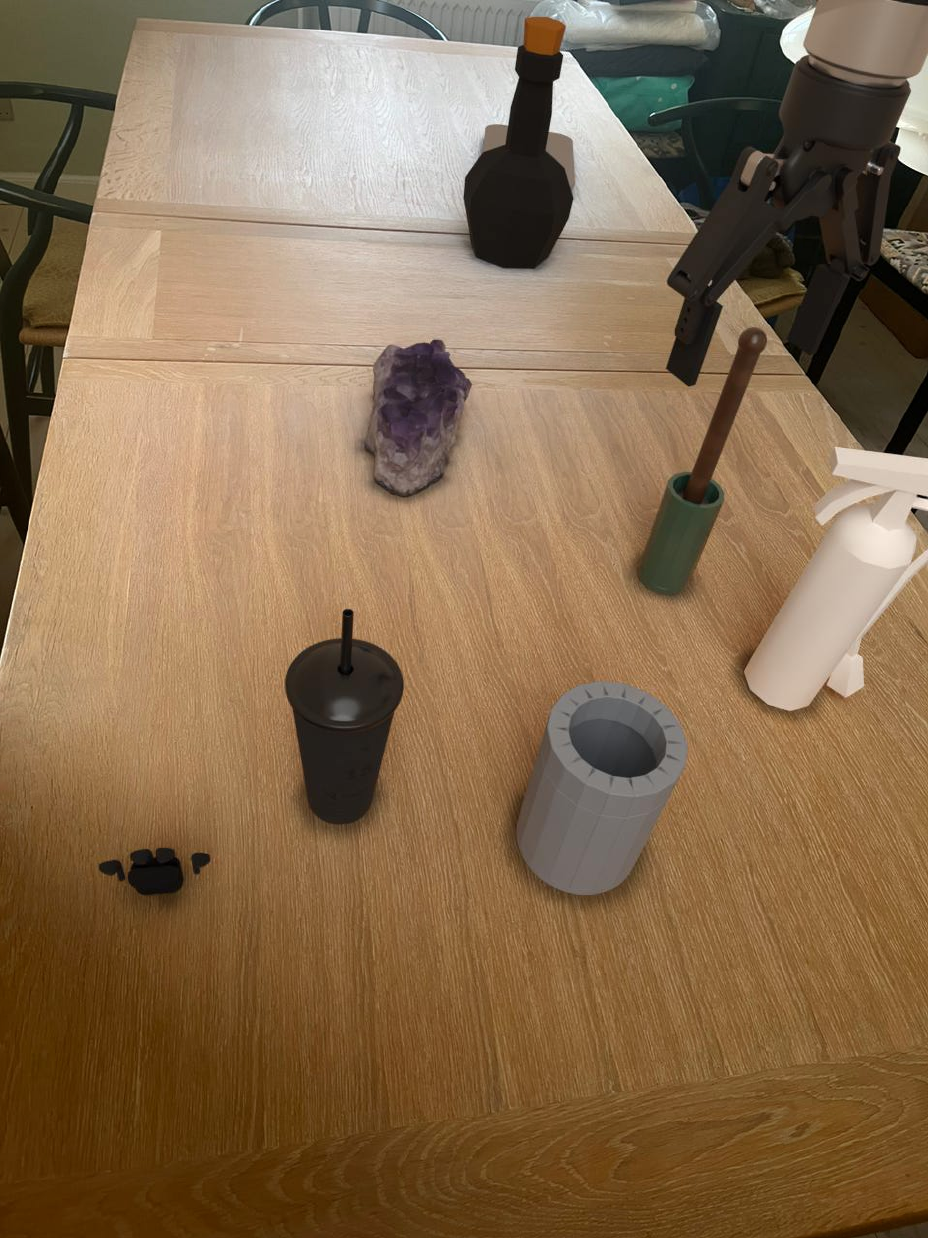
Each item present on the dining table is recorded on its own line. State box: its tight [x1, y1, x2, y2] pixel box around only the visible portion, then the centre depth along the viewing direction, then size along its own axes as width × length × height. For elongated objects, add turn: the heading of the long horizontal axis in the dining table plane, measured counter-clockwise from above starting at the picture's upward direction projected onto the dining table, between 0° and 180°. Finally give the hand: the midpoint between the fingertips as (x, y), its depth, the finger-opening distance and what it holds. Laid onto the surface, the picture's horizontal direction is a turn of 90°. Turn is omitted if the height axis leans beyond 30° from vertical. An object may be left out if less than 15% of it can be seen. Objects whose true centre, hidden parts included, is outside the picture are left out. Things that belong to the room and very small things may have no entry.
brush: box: [677, 326, 768, 505], centre depth 81 cm, size 3×3×26 cm
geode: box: [364, 338, 473, 498], centre depth 98 cm, size 20×12×10 cm, turn 178°
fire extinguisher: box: [743, 446, 928, 712], centre depth 74 cm, size 7×12×25 cm, turn 79°
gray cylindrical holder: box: [515, 680, 689, 896], centre depth 65 cm, size 9×9×13 cm
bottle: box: [462, 16, 575, 269], centre depth 128 cm, size 16×16×30 cm
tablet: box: [481, 123, 576, 190], centre depth 162 cm, size 16×26×2 cm, turn 176°
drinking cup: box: [284, 608, 405, 825], centre depth 62 cm, size 8×8×20 cm
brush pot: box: [636, 471, 725, 596], centre depth 87 cm, size 5×5×11 cm
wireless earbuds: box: [98, 847, 211, 896], centre depth 60 cm, size 7×2×5 cm, turn 100°
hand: (742, 361), depth 74 cm, fingers open, 13 cm apart
